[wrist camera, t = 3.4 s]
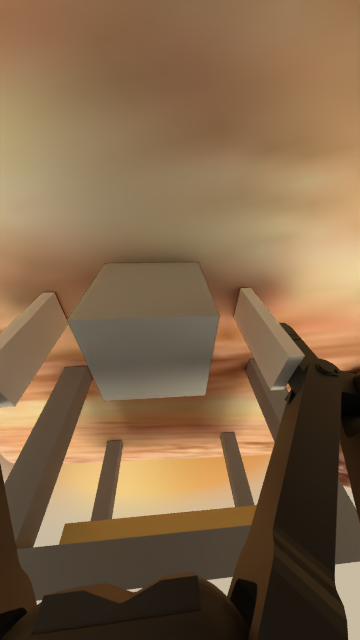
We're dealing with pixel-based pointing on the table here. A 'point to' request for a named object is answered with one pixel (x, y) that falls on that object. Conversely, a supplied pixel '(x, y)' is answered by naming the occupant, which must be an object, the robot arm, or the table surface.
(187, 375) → the grey cube
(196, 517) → the hatch
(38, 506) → the frame
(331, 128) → the table surface
